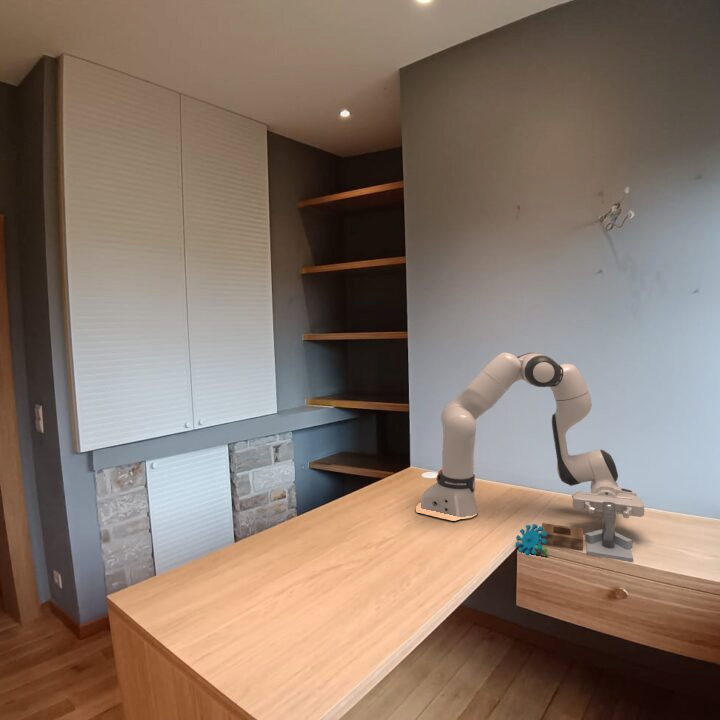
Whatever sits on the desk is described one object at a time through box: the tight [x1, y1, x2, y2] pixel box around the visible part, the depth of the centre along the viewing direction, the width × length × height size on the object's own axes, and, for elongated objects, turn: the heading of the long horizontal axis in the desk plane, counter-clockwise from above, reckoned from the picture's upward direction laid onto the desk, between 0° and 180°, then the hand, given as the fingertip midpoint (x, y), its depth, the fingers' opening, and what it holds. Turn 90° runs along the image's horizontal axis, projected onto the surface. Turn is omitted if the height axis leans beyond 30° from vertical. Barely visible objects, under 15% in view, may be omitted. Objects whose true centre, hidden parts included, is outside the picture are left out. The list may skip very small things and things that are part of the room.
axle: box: [601, 502, 617, 548], centre depth 145 cm, size 4×4×13 cm
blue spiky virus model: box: [515, 523, 550, 557], centre depth 145 cm, size 11×6×10 cm
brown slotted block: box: [540, 522, 584, 552], centre depth 150 cm, size 12×8×4 cm, turn 66°
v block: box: [584, 528, 634, 563], centre depth 145 cm, size 13×12×4 cm
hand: (608, 513), depth 147 cm, fingers open, 8 cm apart
